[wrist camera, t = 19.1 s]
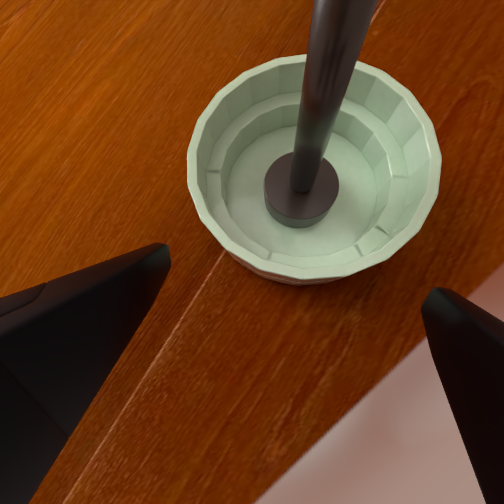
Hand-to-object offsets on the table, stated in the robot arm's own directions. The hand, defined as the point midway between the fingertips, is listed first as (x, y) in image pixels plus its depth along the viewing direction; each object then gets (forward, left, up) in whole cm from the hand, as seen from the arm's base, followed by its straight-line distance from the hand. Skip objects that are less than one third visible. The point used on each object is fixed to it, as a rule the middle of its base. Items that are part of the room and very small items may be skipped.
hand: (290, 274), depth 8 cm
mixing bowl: (+8, 0, -9) cm, 12 cm away
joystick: (+7, 0, -8) cm, 11 cm away
